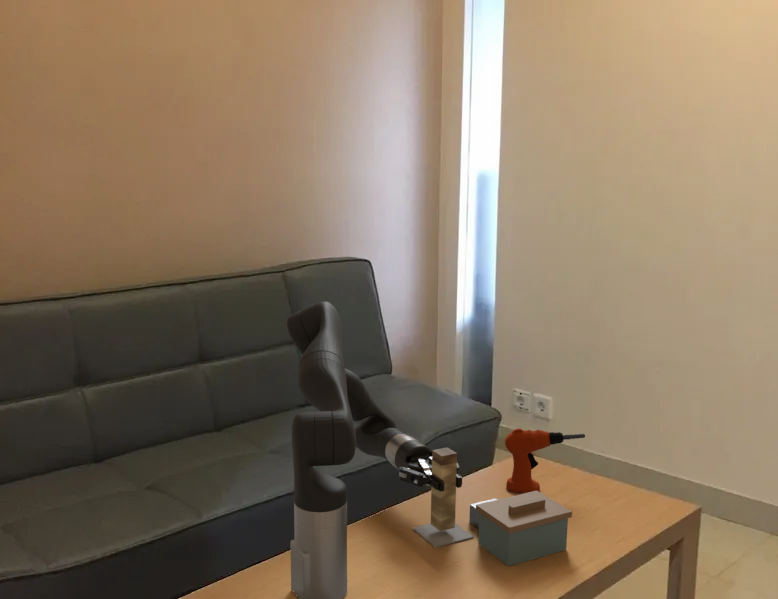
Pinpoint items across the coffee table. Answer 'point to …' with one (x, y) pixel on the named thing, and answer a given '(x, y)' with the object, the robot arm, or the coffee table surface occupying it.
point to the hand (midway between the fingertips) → (451, 484)
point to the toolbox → (523, 527)
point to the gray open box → (476, 513)
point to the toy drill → (529, 455)
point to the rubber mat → (442, 535)
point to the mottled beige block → (445, 500)
